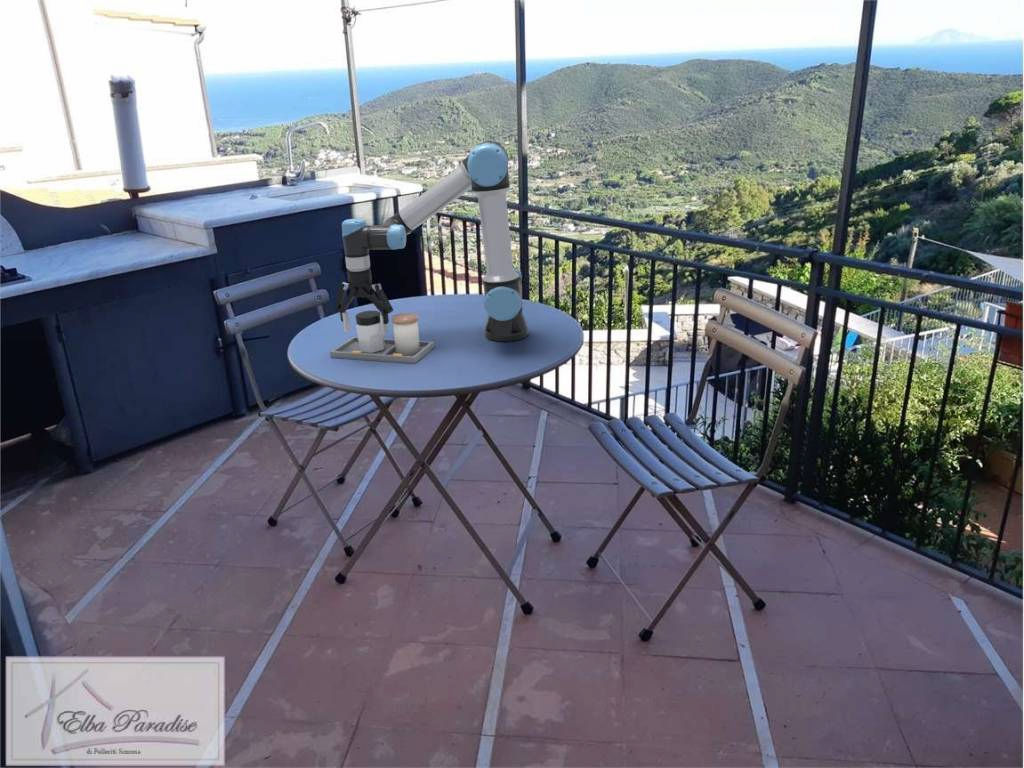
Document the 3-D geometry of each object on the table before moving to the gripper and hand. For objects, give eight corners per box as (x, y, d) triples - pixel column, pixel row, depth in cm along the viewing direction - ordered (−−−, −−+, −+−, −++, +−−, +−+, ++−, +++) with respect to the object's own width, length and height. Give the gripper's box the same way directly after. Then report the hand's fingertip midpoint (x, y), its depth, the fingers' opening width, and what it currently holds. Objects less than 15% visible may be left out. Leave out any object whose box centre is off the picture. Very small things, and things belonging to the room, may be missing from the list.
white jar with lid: (424, 349, 246) (421, 313, 242) (414, 357, 239) (411, 321, 235) (401, 347, 249) (398, 312, 244) (390, 355, 241) (387, 319, 237)
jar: (364, 355, 243) (359, 320, 238) (355, 348, 250) (350, 314, 245) (390, 348, 247) (385, 314, 242) (380, 342, 254) (375, 308, 249)
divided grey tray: (434, 347, 250) (433, 340, 249) (415, 363, 235) (414, 356, 234) (354, 342, 258) (353, 334, 257) (330, 357, 244) (329, 350, 243)
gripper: (399, 267, 238) (405, 330, 246) (329, 264, 245) (338, 326, 253) (389, 272, 231) (395, 337, 239) (318, 270, 238) (326, 333, 246)
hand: (366, 332), depth 246 cm, fingers open, 13 cm apart
